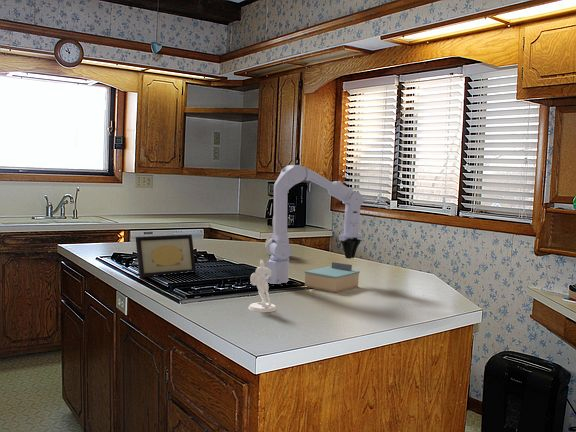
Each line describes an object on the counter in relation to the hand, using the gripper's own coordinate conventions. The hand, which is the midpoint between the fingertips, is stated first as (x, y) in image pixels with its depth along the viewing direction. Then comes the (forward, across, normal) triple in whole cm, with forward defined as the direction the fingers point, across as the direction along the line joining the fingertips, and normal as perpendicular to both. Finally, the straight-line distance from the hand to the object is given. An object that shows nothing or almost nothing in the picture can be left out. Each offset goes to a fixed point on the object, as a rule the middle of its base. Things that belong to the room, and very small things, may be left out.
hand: (349, 258), depth 222 cm
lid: (+4, -12, 0) cm, 13 cm away
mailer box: (+9, -12, 0) cm, 15 cm away
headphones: (+10, +28, +57) cm, 64 cm away
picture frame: (+10, -42, +57) cm, 71 cm away
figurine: (+10, -56, -3) cm, 57 cm away
